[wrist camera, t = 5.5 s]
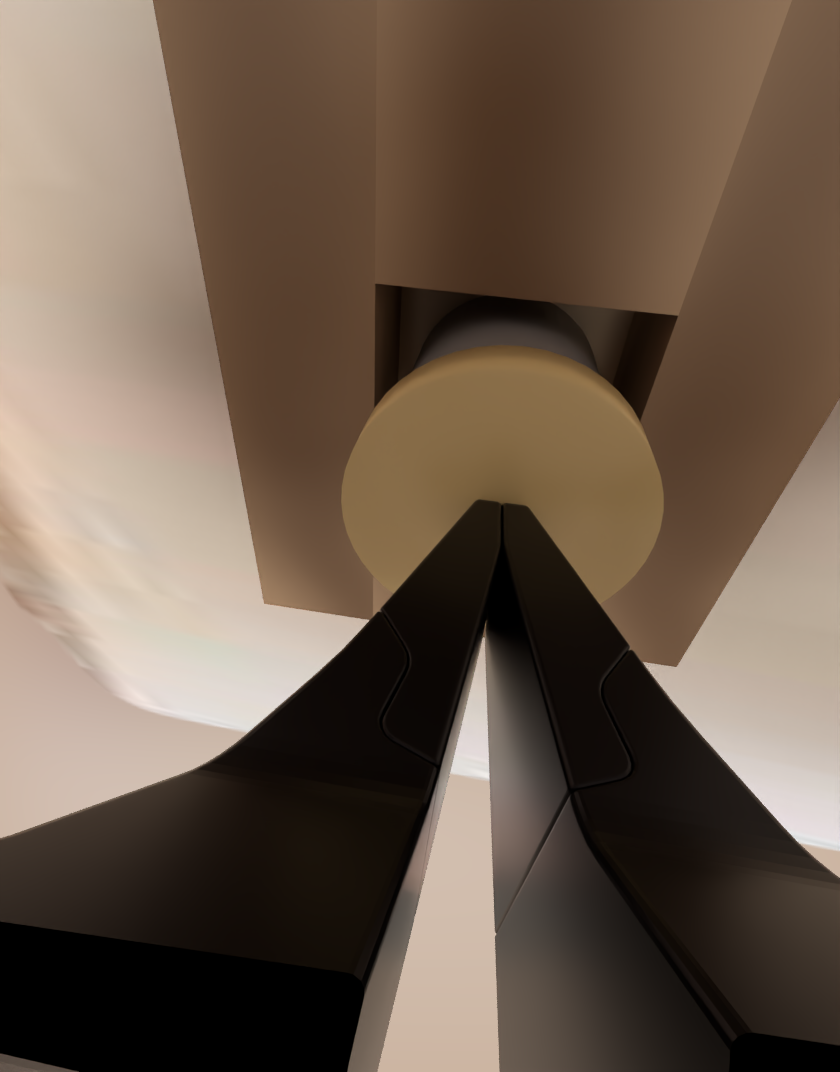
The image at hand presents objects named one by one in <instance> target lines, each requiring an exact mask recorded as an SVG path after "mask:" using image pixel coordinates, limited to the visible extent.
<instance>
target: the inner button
mask: <svg viewBox="0 0 840 1072" xmlns="http://www.w3.org/2000/svg"><path fill="white" fill-rule="evenodd" d="M478 499H482V500H489V501H497V502H499V503H500V504H501V506H502V505H503V504H504V503H512V504H519V505H526V506H528V507H529V508H530V509H531V511H532V512H533V514H534V515H535V516H536V518H537V519H538V520H539V522H540V523H541V525H542V526H543V527H544V529H545V530H546V531H547V533H548V534H549V535H550V537H551V538H552V540H553V541H554V542H555V544H556V545H557V546H558V548H559V549H560V551H561V552H562V553H563V555H564V556H565V557H566V559H567V560H568V562H569V563H570V564H571V566H572V567H573V568H574V570H575V571H576V572H577V574H578V575H579V577H580V578H581V579H582V581H583V582H584V583H585V585H586V586H587V588H588V589H589V590H590V592H591V593H592V594H593V596H594V597H595V598H596V600H597V601H598V603H599V604H601V603H602V602H604V601H605V600H607V599H609V598H610V597H611V596H613V595H614V594H615V593H616V592H618V591H619V590H620V589H622V588H623V587H624V586H625V585H626V584H627V583H628V582H629V581H630V580H631V579H632V578H633V577H634V576H635V575H636V573H637V572H638V571H639V569H640V568H641V567H642V565H643V564H644V563H645V562H646V560H647V558H648V556H649V554H650V553H651V551H652V549H653V547H654V545H655V542H656V540H657V537H658V534H659V531H660V528H661V523H662V517H663V512H664V493H663V487H662V481H661V475H660V472H659V469H658V467H657V464H656V461H655V458H654V455H653V453H652V450H651V448H650V445H649V442H648V440H647V437H646V435H645V432H644V429H643V427H642V424H641V423H640V421H639V419H638V417H637V416H636V414H635V412H634V410H633V408H632V407H631V406H630V405H629V403H628V402H627V401H626V400H625V398H624V397H623V396H622V394H621V393H620V392H619V391H618V390H617V389H616V388H614V387H613V386H612V385H611V384H610V383H609V382H608V381H607V380H606V379H605V378H603V377H602V376H600V374H599V371H598V367H597V364H596V361H595V357H594V354H593V351H592V348H591V346H590V343H589V341H588V339H587V337H586V336H585V334H584V332H583V330H582V329H581V328H580V326H579V325H578V324H577V323H576V321H575V320H574V319H573V318H572V317H570V316H569V315H568V314H567V313H566V312H565V311H563V310H562V309H561V308H559V307H558V306H556V305H554V304H552V303H550V302H544V301H535V300H526V299H516V298H507V297H497V296H488V295H485V296H481V297H478V298H475V299H473V300H470V301H468V302H466V303H464V304H462V305H460V306H459V307H457V308H455V309H454V310H453V311H451V312H450V313H449V314H447V315H446V316H445V317H444V318H443V319H442V320H441V321H440V322H439V323H438V324H437V325H436V326H435V327H434V329H433V330H432V331H431V332H430V334H429V335H428V337H427V339H426V340H425V342H424V344H423V346H422V348H421V351H420V353H419V355H418V358H417V360H416V363H415V365H414V368H413V370H412V372H411V373H410V374H408V375H407V376H405V377H404V378H403V379H401V380H400V381H399V382H398V383H397V384H396V385H394V386H393V387H392V388H391V389H390V390H389V391H388V392H387V393H386V394H385V395H384V397H383V398H382V399H381V400H380V402H379V403H378V404H377V406H376V407H375V408H374V410H373V411H372V413H371V415H370V417H369V419H368V420H367V422H366V424H365V426H364V428H363V430H362V432H361V434H360V436H359V438H358V440H357V442H356V444H355V446H354V449H353V451H352V453H351V455H350V458H349V461H348V463H347V466H346V469H345V473H344V478H343V483H342V494H341V505H342V513H343V520H344V524H345V527H346V531H347V534H348V536H349V539H350V541H351V543H352V546H353V548H354V550H355V551H356V553H357V555H358V556H359V558H360V560H361V561H362V563H363V564H364V565H365V566H366V568H367V569H368V570H369V571H370V573H371V574H372V575H373V576H374V577H375V578H376V579H377V580H378V581H379V582H380V583H381V584H382V585H383V586H384V587H385V588H387V589H388V590H389V591H390V592H392V593H393V594H394V592H395V591H396V590H397V589H398V588H399V587H400V586H401V585H402V583H403V582H404V581H405V580H406V579H407V578H408V577H409V575H410V574H411V573H412V572H413V571H414V570H415V569H416V567H417V566H418V565H419V564H420V563H421V562H422V561H423V559H424V558H425V557H426V556H427V555H428V554H429V553H430V552H431V550H432V549H433V548H434V547H435V546H436V545H437V544H438V542H439V541H440V540H441V539H442V538H443V537H444V536H445V534H446V533H447V532H448V531H449V530H450V529H451V528H452V527H453V525H454V524H455V523H456V522H457V521H458V520H459V519H460V517H461V516H462V515H463V514H464V513H465V512H466V511H467V509H468V508H469V507H470V506H471V505H472V504H473V503H474V502H475V501H476V500H478ZM485 625H486V624H485Z"/></svg>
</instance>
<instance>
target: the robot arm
mask: <svg viewBox="0 0 840 1072" xmlns="http://www.w3.org/2000/svg"><path fill="white" fill-rule="evenodd" d="M485 624H486V625H485ZM484 628H485V654H486V684H487V713H488V742H489V771H490V801H491V829H492V859H493V888H494V916H495V932H496V936H495V950H496V978H497V1008H498V1037H499V1064H500V1072H840V878H839V877H838V876H836V875H835V874H834V873H832V872H831V871H830V870H829V869H827V868H826V867H825V866H824V865H823V864H821V863H820V862H819V861H818V860H816V859H815V858H814V857H813V856H812V855H811V854H810V853H809V852H808V851H807V850H805V848H803V847H802V846H801V845H800V844H799V843H798V842H797V841H796V840H795V839H794V838H793V837H792V836H791V835H790V833H789V832H788V831H787V830H786V829H785V828H784V827H783V826H782V825H781V824H780V823H779V822H778V821H777V819H776V818H775V817H774V816H773V815H772V814H771V813H770V812H769V810H768V809H767V808H766V807H765V806H764V805H763V804H762V803H761V802H760V800H759V799H758V798H757V797H756V796H755V795H754V794H753V793H752V791H751V790H750V789H749V788H748V787H747V786H746V785H745V784H744V782H743V781H742V780H741V779H740V778H739V777H738V776H737V775H736V774H735V772H734V771H733V770H732V769H731V768H730V767H729V766H728V765H727V763H726V762H725V761H724V760H723V759H722V758H721V757H720V756H719V755H718V753H717V752H716V751H715V750H714V749H713V748H712V747H711V746H710V744H709V743H708V742H707V741H706V740H705V739H704V738H703V737H702V735H701V734H700V733H699V732H698V731H697V730H696V728H695V727H694V726H693V725H692V724H691V723H690V721H689V720H688V719H687V718H686V717H685V716H684V714H683V713H682V712H681V711H680V710H679V709H678V707H677V706H676V705H675V704H674V703H673V702H672V700H671V699H670V698H669V696H668V695H667V694H666V693H665V691H664V690H663V689H662V687H661V686H660V685H659V683H658V682H657V681H656V680H655V678H654V677H653V676H652V674H651V673H650V672H649V671H648V669H647V668H646V667H645V665H644V664H643V662H642V661H641V660H640V658H639V657H638V656H637V654H636V653H635V651H633V650H630V645H629V644H628V642H627V641H626V640H625V638H624V637H623V635H622V634H621V633H620V631H619V630H618V629H617V627H616V626H615V624H614V623H613V622H612V620H611V619H610V618H609V616H608V615H607V614H606V612H605V611H604V609H603V608H602V607H601V605H600V604H599V603H598V601H597V600H596V598H595V597H594V596H593V594H592V593H591V592H590V590H589V589H588V588H587V586H586V585H585V583H584V582H583V581H582V579H581V578H580V577H579V575H578V574H577V572H576V571H575V570H574V568H573V567H572V566H571V564H570V563H569V562H568V560H567V559H566V557H565V556H564V555H563V553H562V552H561V551H560V549H559V548H558V546H557V545H556V544H555V542H554V541H553V540H552V538H551V537H550V535H549V534H548V533H547V531H546V530H545V529H544V527H543V526H542V525H541V523H540V522H539V520H538V519H537V518H536V516H535V515H534V514H533V512H532V511H531V509H530V508H529V507H528V506H526V505H519V504H512V503H504V504H503V505H502V506H501V504H500V503H499V502H497V501H489V500H482V499H478V500H476V501H475V502H474V503H473V504H472V505H471V506H470V507H469V508H468V509H467V511H466V512H465V513H464V514H463V515H462V516H461V517H460V519H459V520H458V521H457V522H456V523H455V524H454V525H453V527H452V528H451V529H450V530H449V531H448V532H447V533H446V534H445V536H444V537H443V538H442V539H441V540H440V541H439V542H438V544H437V545H436V546H435V547H434V548H433V549H432V550H431V552H430V553H429V554H428V555H427V556H426V557H425V558H424V559H423V561H422V562H421V563H420V564H419V565H418V566H417V567H416V569H415V570H414V571H413V572H412V573H411V574H410V575H409V577H408V578H407V579H406V580H405V581H404V582H403V583H402V585H401V586H400V587H399V588H398V589H397V590H396V591H395V592H394V594H393V595H392V596H391V597H390V598H389V599H388V600H387V602H386V603H385V604H384V605H383V606H382V607H381V608H380V612H377V613H376V614H375V615H374V616H373V617H372V618H371V619H370V621H369V622H368V623H367V624H366V625H365V626H364V627H363V628H362V630H361V631H360V632H359V633H358V634H357V635H356V636H355V637H354V638H353V639H352V640H351V641H350V642H349V643H348V644H347V645H346V646H345V647H344V648H343V650H342V651H340V652H339V653H338V654H337V655H336V656H335V657H334V658H333V659H332V660H331V661H330V662H328V663H327V664H326V665H325V666H324V667H323V668H322V669H321V670H320V671H319V672H318V673H316V674H315V675H314V676H313V677H312V678H311V679H310V680H308V681H307V682H306V683H305V684H304V685H303V686H301V687H300V688H299V689H298V690H297V691H296V692H295V693H293V694H292V695H291V696H290V697H289V698H288V699H286V700H285V701H284V702H283V703H282V704H281V705H280V706H278V707H277V708H276V709H275V710H274V711H273V712H271V713H270V714H269V715H268V716H267V717H266V718H265V719H263V720H262V721H261V722H260V723H259V724H258V725H256V726H255V727H254V728H253V729H252V730H251V731H250V732H248V733H247V734H246V735H245V736H244V737H242V738H241V739H240V740H239V741H238V742H237V743H235V744H234V745H233V746H231V747H230V748H228V749H227V750H226V751H224V752H223V753H221V754H220V755H218V756H216V757H215V758H213V759H212V760H210V761H208V762H207V763H205V764H203V765H201V766H199V767H197V768H195V769H193V770H191V771H188V772H185V773H183V774H180V775H177V776H174V777H172V778H169V779H166V780H163V781H160V782H158V783H155V784H152V785H149V786H147V787H144V788H141V789H138V790H136V791H133V792H130V793H127V794H124V795H121V796H119V797H116V798H113V799H110V800H108V801H105V802H102V803H99V804H97V805H94V806H91V807H88V808H86V809H83V810H80V811H77V812H74V813H71V814H69V815H66V816H63V817H61V818H58V819H55V820H52V821H49V822H46V823H44V824H41V825H38V826H35V827H33V828H30V829H27V830H24V831H21V832H19V833H16V834H13V835H10V836H7V837H3V838H0V1072H377V1069H378V1066H379V1062H380V1058H381V1054H382V1049H383V1046H384V1041H385V1037H386V1033H387V1029H388V1025H389V1021H390V1017H391V1012H392V1009H393V1004H394V1000H395V996H396V992H397V988H398V984H399V980H400V976H401V972H402V967H403V963H404V959H405V955H406V951H407V946H408V943H409V939H410V935H411V930H412V926H413V922H414V916H415V914H416V910H417V906H418V901H419V898H420V893H421V889H422V885H423V881H424V877H425V873H426V869H427V865H428V860H429V856H430V852H431V848H432V844H433V840H434V835H435V831H436V828H437V823H438V819H439V815H440V811H441V807H442V803H443V799H444V795H445V790H446V787H447V782H448V778H449V774H450V770H451V766H452V762H453V758H454V754H455V750H456V745H457V741H458V737H459V733H460V729H461V725H462V721H463V717H464V713H465V708H466V704H467V700H468V696H469V692H470V688H471V684H472V680H473V676H474V672H475V667H476V663H477V659H478V655H479V651H480V647H481V643H482V638H483V633H484Z"/></svg>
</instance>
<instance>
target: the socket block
mask: <svg viewBox="0 0 840 1072" xmlns="http://www.w3.org/2000/svg"><path fill="white" fill-rule="evenodd" d="M153 3H154V9H155V14H156V20H157V25H158V31H159V36H160V41H161V47H162V52H163V58H164V63H165V68H166V74H167V79H168V85H169V90H170V96H171V101H172V106H173V112H174V117H175V123H176V128H177V133H178V139H179V144H180V150H181V155H182V161H183V166H184V171H185V177H186V182H187V188H188V193H189V199H190V204H191V209H192V215H193V220H194V226H195V231H196V236H197V242H198V247H199V253H200V258H201V264H202V269H203V274H204V280H205V285H206V291H207V296H208V301H209V307H210V312H211V318H212V323H213V329H214V334H215V339H216V345H217V350H218V356H219V361H220V367H221V372H222V377H223V383H224V388H225V394H226V399H227V404H228V410H229V415H230V421H231V426H232V432H233V437H234V442H235V448H236V453H237V459H238V464H239V469H240V475H241V480H242V486H243V491H244V497H245V502H246V507H247V513H248V518H249V524H250V529H251V534H252V540H253V545H254V551H255V556H256V562H257V567H258V572H259V578H260V583H261V589H262V594H263V600H264V604H270V605H277V606H283V607H290V608H296V609H303V610H309V611H316V612H322V613H329V614H335V615H342V616H348V617H355V618H361V619H368V620H370V619H371V618H372V617H373V616H374V615H375V614H376V613H377V612H380V608H381V607H382V606H383V605H384V604H385V603H386V602H387V600H388V599H389V598H390V597H391V596H392V595H393V593H392V592H390V591H389V590H388V589H387V588H385V587H384V586H383V585H382V584H381V583H380V582H379V581H378V580H377V579H376V578H375V577H374V576H373V575H372V574H371V573H370V571H369V570H368V569H367V568H366V566H365V565H364V564H363V563H362V561H361V560H360V558H359V556H358V555H357V553H356V551H355V550H354V548H353V546H352V543H351V541H350V539H349V536H348V534H347V531H346V527H345V524H344V520H343V513H342V505H341V494H342V483H343V478H344V473H345V469H346V466H347V463H348V461H349V458H350V455H351V453H352V451H353V449H354V446H355V444H356V442H357V440H358V438H359V436H360V434H361V432H362V430H363V428H364V426H365V424H366V422H367V420H368V419H369V417H370V415H371V413H372V411H373V410H374V408H375V407H376V406H377V404H378V403H379V402H380V400H381V399H382V398H383V397H384V395H385V394H386V393H387V392H388V391H389V390H390V389H391V388H392V387H393V386H394V385H396V384H397V383H398V382H399V381H400V380H401V379H403V378H404V377H405V376H407V375H408V374H410V373H411V372H412V370H413V368H414V365H415V363H416V360H417V358H418V355H419V353H420V351H421V348H422V346H423V344H424V342H425V340H426V339H427V337H428V335H429V334H430V332H431V331H432V330H433V329H434V327H435V326H436V325H437V324H438V323H439V322H440V321H441V320H442V319H443V318H444V317H445V316H446V315H447V314H449V313H450V312H451V311H453V310H454V309H455V308H457V307H459V306H460V305H462V304H464V303H466V302H468V301H470V300H473V299H475V298H478V297H481V296H485V295H488V296H497V297H507V298H516V299H526V300H535V301H544V302H550V303H552V304H554V305H556V306H558V307H559V308H561V309H562V310H563V311H565V312H566V313H567V314H568V315H569V316H570V317H572V318H573V319H574V320H575V321H576V323H577V324H578V325H579V326H580V328H581V329H582V330H583V332H584V334H585V336H586V337H587V339H588V341H589V343H590V346H591V348H592V351H593V354H594V357H595V361H596V364H597V367H598V371H599V374H600V376H602V377H603V378H605V379H606V380H607V381H608V382H609V383H610V384H611V385H612V386H613V387H614V388H616V389H617V390H618V391H619V392H620V393H621V394H622V396H623V397H624V398H625V400H626V401H627V402H628V403H629V405H630V406H631V407H632V408H633V410H634V412H635V414H636V416H637V417H638V419H639V421H640V423H641V424H642V427H643V429H644V432H645V435H646V437H647V440H648V442H649V445H650V448H651V450H652V453H653V455H654V458H655V461H656V464H657V467H658V469H659V472H660V475H661V481H662V487H663V493H664V512H663V517H662V523H661V528H660V531H659V534H658V537H657V540H656V542H655V545H654V547H653V549H652V551H651V553H650V554H649V556H648V558H647V560H646V562H645V563H644V564H643V565H642V567H641V568H640V569H639V571H638V572H637V573H636V575H635V576H634V577H633V578H632V579H631V580H630V581H629V582H628V583H627V584H626V585H625V586H624V587H623V588H622V589H620V590H619V591H618V592H616V593H615V594H614V595H613V596H611V597H610V598H609V599H607V600H605V601H604V602H602V603H601V604H600V605H601V607H602V608H603V609H604V611H605V612H606V614H607V615H608V616H609V618H610V619H611V620H612V622H613V623H614V624H615V626H616V627H617V629H618V630H619V631H620V633H621V634H622V635H623V637H624V638H625V640H626V641H627V642H628V644H629V645H630V650H633V651H635V653H636V654H637V656H638V657H639V658H640V660H641V661H642V662H648V663H654V664H661V665H667V666H674V667H677V665H678V664H679V662H680V660H681V659H682V657H683V655H684V654H685V652H686V650H687V649H688V647H689V645H690V644H691V642H692V641H693V639H694V637H695V636H696V634H697V632H698V631H699V629H700V627H701V626H702V624H703V622H704V621H705V619H706V617H707V616H708V614H709V612H710V611H711V609H712V608H713V606H714V604H715V603H716V601H717V599H718V598H719V596H720V594H721V593H722V591H723V589H724V588H725V586H726V584H727V583H728V581H729V580H730V578H731V576H732V575H733V573H734V571H735V570H736V568H737V566H738V565H739V563H740V561H741V560H742V558H743V556H744V555H745V553H746V551H747V550H748V548H749V547H750V545H751V543H752V542H753V540H754V538H755V537H756V535H757V533H758V532H759V530H760V528H761V527H762V525H763V523H764V522H765V520H766V519H767V517H768V515H769V514H770V512H771V510H772V509H773V507H774V505H775V504H776V502H777V500H778V499H779V497H780V495H781V494H782V492H783V490H784V489H785V487H786V486H787V484H788V482H789V481H790V479H791V477H792V476H793V474H794V472H795V471H796V469H797V467H798V466H799V464H800V462H801V461H802V459H803V458H804V456H805V454H806V453H807V451H808V449H809V448H810V446H811V444H812V443H813V441H814V439H815V438H816V436H817V434H818V433H819V431H820V429H821V428H822V426H823V425H824V423H825V421H826V420H827V418H828V416H829V415H830V413H831V411H832V410H833V408H834V406H835V405H836V403H837V401H838V400H839V398H840V0H153ZM483 637H485V628H484V633H483Z"/></svg>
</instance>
